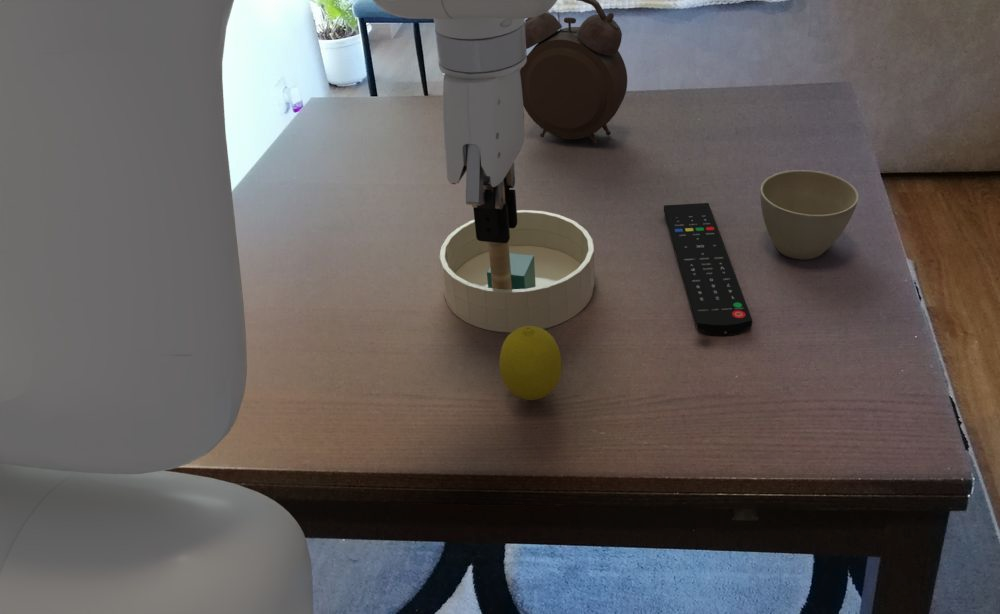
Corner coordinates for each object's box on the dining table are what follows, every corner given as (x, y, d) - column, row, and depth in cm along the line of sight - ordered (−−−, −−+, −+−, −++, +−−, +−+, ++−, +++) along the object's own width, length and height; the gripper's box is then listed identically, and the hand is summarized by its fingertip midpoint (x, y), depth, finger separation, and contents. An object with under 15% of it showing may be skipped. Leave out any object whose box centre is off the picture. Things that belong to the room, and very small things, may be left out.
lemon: (567, 380, 82) (564, 312, 77) (556, 421, 77) (553, 351, 73) (509, 375, 83) (504, 307, 78) (496, 414, 79) (489, 345, 74)
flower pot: (756, 271, 94) (764, 213, 90) (751, 224, 102) (757, 168, 98) (854, 274, 92) (866, 215, 88) (840, 226, 100) (851, 170, 96)
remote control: (707, 212, 105) (708, 202, 104) (752, 334, 85) (753, 323, 85) (663, 215, 105) (663, 205, 104) (697, 337, 86) (698, 326, 85)
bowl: (576, 341, 86) (575, 300, 84) (423, 323, 91) (417, 283, 88) (606, 254, 99) (606, 216, 96) (470, 241, 103) (466, 204, 100)
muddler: (509, 302, 88) (500, 187, 80) (490, 300, 88) (479, 185, 80) (514, 290, 89) (506, 177, 81) (496, 288, 90) (485, 175, 82)
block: (526, 308, 91) (524, 276, 88) (489, 304, 92) (486, 272, 89) (535, 286, 94) (534, 255, 91) (500, 282, 95) (497, 251, 92)
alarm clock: (631, 132, 124) (634, -11, 113) (614, 154, 119) (615, 6, 107) (537, 120, 130) (530, -18, 118) (517, 140, 125) (508, -2, 113)
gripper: (467, 14, 81) (484, 190, 91) (406, 81, 68) (433, 275, 79) (546, 16, 79) (553, 196, 89) (498, 84, 66) (513, 283, 77)
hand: (497, 232), depth 84 cm, fingers closed on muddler, 2 cm apart
